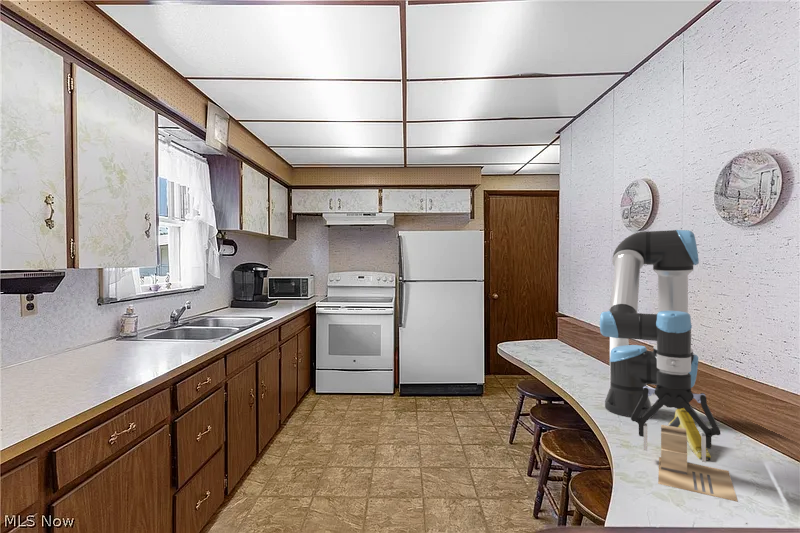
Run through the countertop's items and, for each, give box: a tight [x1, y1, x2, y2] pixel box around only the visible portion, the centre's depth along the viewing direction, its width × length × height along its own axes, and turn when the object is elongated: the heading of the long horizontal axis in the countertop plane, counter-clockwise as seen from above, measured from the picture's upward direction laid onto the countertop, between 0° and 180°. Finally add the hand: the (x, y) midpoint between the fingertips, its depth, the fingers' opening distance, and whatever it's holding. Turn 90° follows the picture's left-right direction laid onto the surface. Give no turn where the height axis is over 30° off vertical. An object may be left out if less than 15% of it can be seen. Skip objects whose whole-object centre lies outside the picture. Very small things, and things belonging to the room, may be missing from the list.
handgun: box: [667, 408, 712, 462], centre depth 124 cm, size 2×19×12 cm
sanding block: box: [660, 424, 688, 474], centre depth 111 cm, size 8×6×9 cm
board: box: [657, 456, 739, 503], centre depth 105 cm, size 16×15×2 cm
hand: (673, 454), depth 111 cm, fingers open, 12 cm apart
